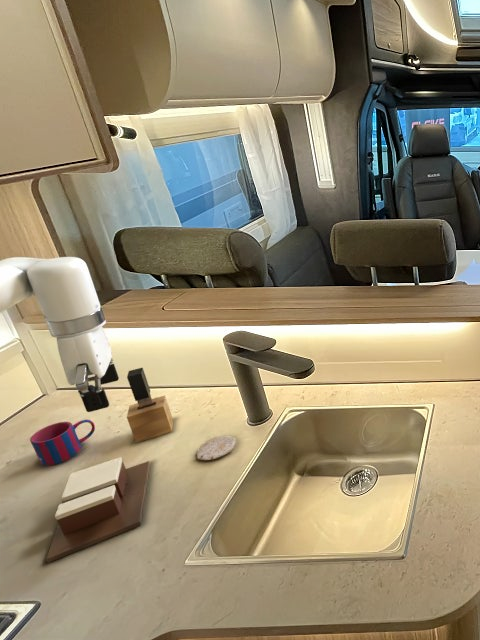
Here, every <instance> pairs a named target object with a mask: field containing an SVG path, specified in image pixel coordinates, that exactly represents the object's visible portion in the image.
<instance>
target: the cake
mask: <svg viewBox="0 0 480 640" xmlns="http://www.w3.org/2000/svg"><path fill="white" fill-rule="evenodd" d="M126 469H127V468H126V466H125V463H124V460H123V458H122V456H119V457H116V458H113V459H111V460H110V459H109V460H107V461H104V462H101V463H98V464H95V465H91V466H89V467H86V468H83V469H80V470H76V471H74V472H72V473H69V477H68V479H67V482H66V484H65V487H64V490H63V493H62V496H61V500H62V503H65V502H68V501H71V500H74V499H76V498H79V497H82V496H85V495H88V494H90V493H93V492H96V491H99V490H101V489H104V488H107V487H110V486H113V485H115V488H116V490H117V492H118V495H119V497H120V498H121V497H123V494H124V490H125V485H126V480H127V475H128V473H127V471H126Z"/></svg>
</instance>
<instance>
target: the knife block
mask: <svg viewBox="0 0 480 640" xmlns="http://www.w3.org/2000/svg"><path fill="white" fill-rule="evenodd" d="M152 401H153V404H154V405H153V406H150V407H146V408H143V409H140V407H139V405H138V402H137V403H133V404H130V405H129V406H128V409H127V414H126V419H127V422H128V425H129V427H130V430H131V433H132V435H133V438H134V441H135V443H136V444H138V443H140V442H144V441H147V440H150V439H153V438H156V437H159V436H162V435H165V434H168V433H171V432H173V424H174V419H173V415H172V413H171V412H172V411H171V409H170V406H169V402H168V400H167V396H166V395H162V396H159V397H155V398H152Z"/></svg>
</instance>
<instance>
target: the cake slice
mask: <svg viewBox="0 0 480 640" xmlns="http://www.w3.org/2000/svg"><path fill="white" fill-rule="evenodd" d="M121 504H122V502H121V500H120V497H119V495H118V492H117V490H116V488H115V485H113V486H110V487H107V488H104V489H101V490H99V491H96V492H93V493H90V494H88V495H85V496H82V497H79V498H76V499H74V500H71V501H68V502H65V503H63V502H61V503H60V504H58V507H57V508H56V509H57V510H56V512H55V515H54V517H55V520H56V522H57V525H58V524H59V526H60V528H61V530H62V532H63V534H64V535H65V534H68V533H71V532H73V531H76V530H78V529H81V528H84V527H86V526H89V525H91V524H94V523H96V522H99V521H102V520H104V519H107V518H109V517H112V516H114V515H117V514H119V513H120V508H121Z"/></svg>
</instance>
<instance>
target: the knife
mask: <svg viewBox="0 0 480 640" xmlns="http://www.w3.org/2000/svg"><path fill="white" fill-rule="evenodd" d="M126 379H127V381H128V385H129V387H130V390H131V392H132V395H133V399H134V401H135V402H137V403H138V405H139V407H140V409H143V408H146V407H150V406H153V405H154V404H153V401H152V399H153V398H152V396H151V387H150V385H149V383H148V379H147V377H146V374H145V371H144V368H143V367H138V368H135V369H129V370H128V372H127V376H126Z"/></svg>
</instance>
